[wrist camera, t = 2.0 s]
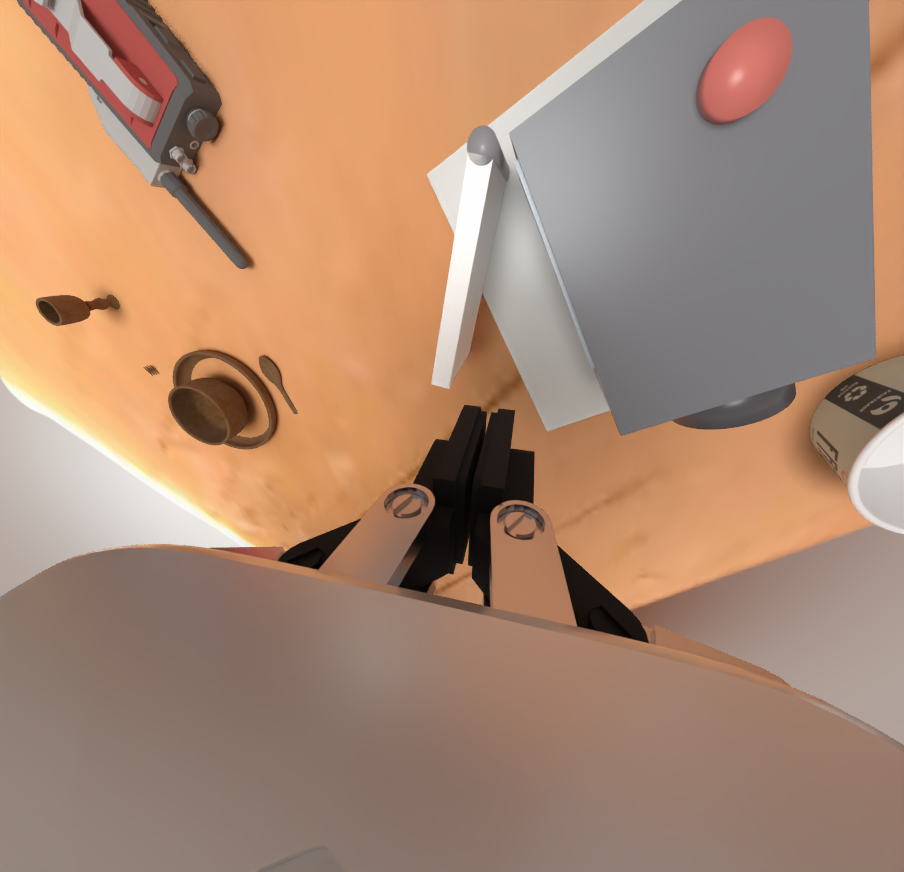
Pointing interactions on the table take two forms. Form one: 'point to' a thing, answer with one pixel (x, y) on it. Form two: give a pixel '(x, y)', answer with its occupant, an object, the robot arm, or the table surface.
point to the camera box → (687, 214)
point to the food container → (867, 440)
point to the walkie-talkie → (140, 89)
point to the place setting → (190, 383)
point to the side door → (470, 251)
